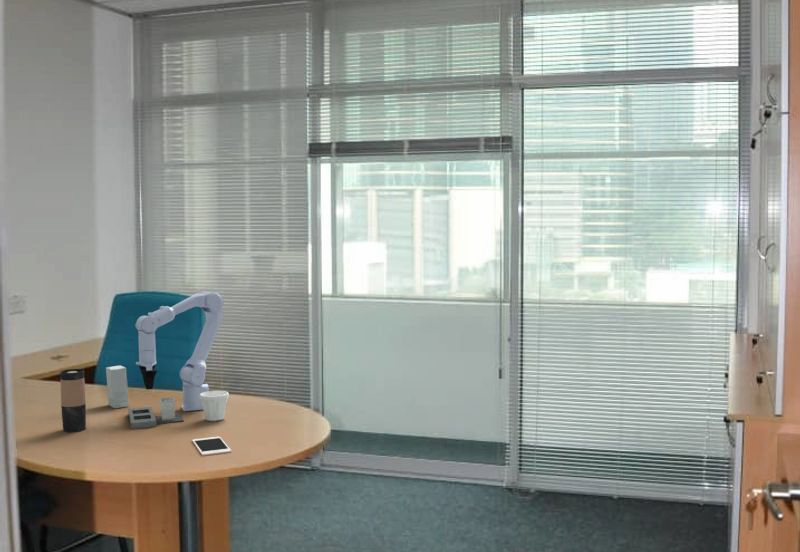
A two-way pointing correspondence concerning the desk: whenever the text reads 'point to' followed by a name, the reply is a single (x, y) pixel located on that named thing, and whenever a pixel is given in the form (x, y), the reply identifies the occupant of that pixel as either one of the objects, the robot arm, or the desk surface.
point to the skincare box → (117, 386)
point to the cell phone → (211, 446)
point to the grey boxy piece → (167, 408)
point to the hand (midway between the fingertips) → (148, 387)
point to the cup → (214, 404)
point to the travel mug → (73, 400)
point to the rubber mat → (177, 419)
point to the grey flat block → (141, 417)
